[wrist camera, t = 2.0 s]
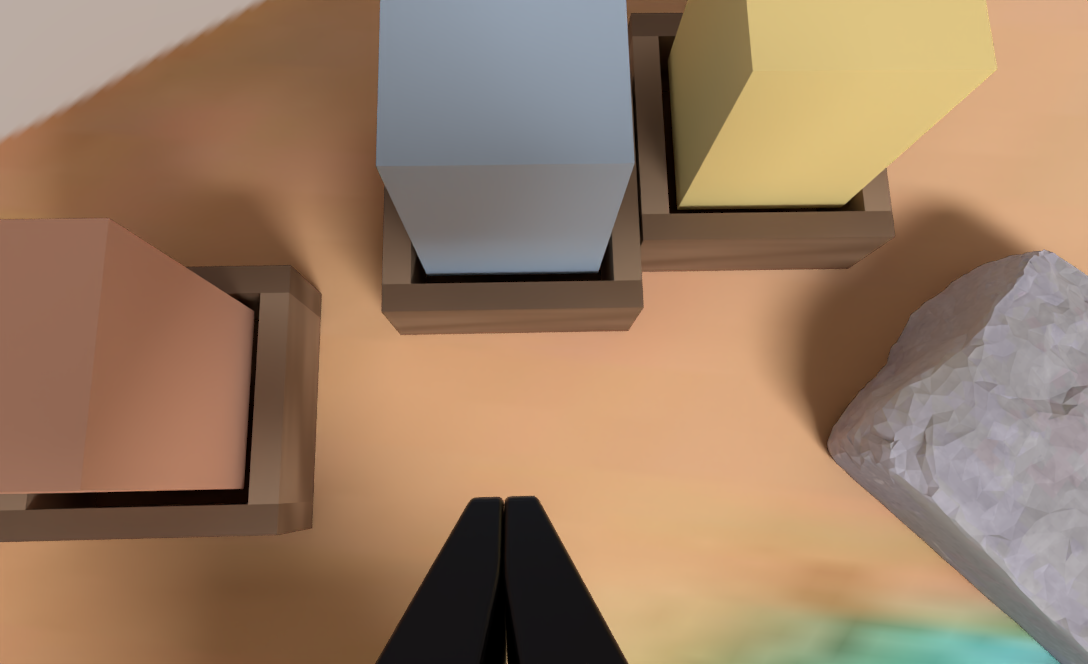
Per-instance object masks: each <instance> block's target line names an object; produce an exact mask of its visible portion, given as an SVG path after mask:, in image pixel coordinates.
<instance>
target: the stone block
mask: <svg viewBox="0 0 1088 664" xmlns="http://www.w3.org/2000/svg"><path fill="white" fill-rule="evenodd" d="M827 446H828V450H829V453H830V454H831V456H832V457H833V459H834V460H835V462H836V463H837V464H838V465H839V466H840V467H841V468H843V469H844V470H845V471H846V472H847V473H848V474H849V475H850V476H851V477H852V478H853V479H854V480H855V481H856V482H857V483H858V484H860V485H861V486H862V487H863V488H864V489H865V490H867V491H868V492H869V493H870V494H871V495H872V496H874V497H875V498H876V499H877V500H879V501H880V502H881V503H882V504H883V505H884V506H885V507H886V508H887V509H888V510H889V511H891V512H892V513H893V514H894V515H895V516H896V517H897V518H898V519H899V520H901V521H902V522H903V523H904V524H905V525H906V526H907V527H909V528H910V529H911V530H912V531H913V532H914V533H915V534H917V535H918V536H919V537H920V538H921V539H922V540H923V541H924V542H926V543H927V544H928V545H929V546H930V547H931V548H932V549H933V550H934V551H935V552H937V553H938V554H939V555H940V556H941V557H942V558H943V559H944V560H945V561H946V562H947V563H949V564H950V565H951V566H952V567H954V568H955V569H956V570H957V571H958V572H959V573H960V574H962V575H963V576H964V577H965V578H966V579H967V580H968V581H969V582H971V583H972V584H973V585H974V586H975V587H976V588H977V589H978V590H979V591H980V592H981V593H982V594H984V595H985V596H986V597H987V598H988V599H989V600H990V601H992V602H993V603H994V604H995V605H996V606H997V607H999V608H1000V609H1001V610H1002V611H1003V612H1004V613H1006V614H1007V615H1008V616H1009V617H1011V618H1012V619H1013V620H1014V621H1016V622H1017V623H1018V624H1019V625H1020V626H1021V627H1022V628H1023V629H1024V630H1025V631H1026V632H1027V633H1028V634H1030V635H1031V636H1032V637H1033V638H1034V639H1035V640H1036V641H1037V642H1038V643H1039V644H1040V645H1041V646H1043V647H1044V648H1045V649H1046V650H1047V651H1048V652H1049V653H1050V654H1051V655H1052V656H1053V657H1054V658H1055V659H1057V660H1058V661H1059V662H1060V663H1061V664H1088V276H1087V275H1086V274H1084V273H1083V272H1081V271H1080V270H1078V269H1077V268H1075V267H1074V266H1072V265H1071V264H1070V263H1068V262H1067V261H1065V260H1063V259H1062V258H1060V257H1059V256H1057V255H1056V254H1055V253H1053V252H1050V251H1047V250H1043V251H1033V252H1028V253H1024V254H1022V255H1011V256H1008V257H1006V258H1003V259H1000V260H997V261H992V262H988V263H986V264H983V265H981V266H979V267H977V268H975V269H974V270H972V271H970V272H969V273H968V274H965V275H963V276H961V277H960V278H958V279H957V280H955V281H953V282H951V284H950V285H949V286H948V287H947V288H946V289H945V290H943V291H942V292H941V293H939V294H938V295H937V296H935V297H933V298H932V299H930V300H928V301H926V302H925V303H924V304H923V305H922V306H921V307H920V308H919V309H918V310H916V311H915V312H914V313H912V314H911V315H910V318H909V320H908V322H907V324H906V326H905V328H904V330H903V332H902V334H901V336H900V337H899V339H898V341H897V343H895V344H894V345H893V346H892V347H891V350H890V353H889V357H888V360H887V364H886V365H885V366H884V367H883V368H882V369H881V370H880V371H879V372H878V374H877V375H876V377H875V378H874V379H872V380H871V381H870V382H868V383H867V384H866V386H865V388H863V389H862V390H860V392H859V393H858V394H857V396H856V397H855V398H854V399H853V401H852V402H851V403H850V404H849V405H848V407H847V408H846V410H845V411H844V412H843V414H842V415H841V417H840V418H839V420H838V422H837V423H836V424H835V425H834V426H833V428H832V431H831V434H830V437H829V439H828V442H827Z"/></svg>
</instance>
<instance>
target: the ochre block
mask: <svg viewBox="0 0 1088 664" xmlns="http://www.w3.org/2000/svg"><path fill="white" fill-rule="evenodd" d="M996 70H997V64H996V58H995V52H994V46H993V40H992V34H991V28H990V22H989V16H988V10H987V4H986V0H687V3H686V6H685V9H684V12H683V15H682V18H681V22H680V25H679V28H678V31H677V34H676V37H675V40H674V43H673V46H672V49H671V52H670V55H669V58H668V72H669V88H670V103H671V119H672V134H673V150H674V165H675V181H676V196H677V210H682V209H758V208H834V207H842V206H843V205H845V204H846V203H847V202H848V201H849V200H850V199H851V198H852V197H854V196H855V195H856V194H857V193H858V192H859V191H860V190H861V189H863V188H864V187H865V186H866V185H867V184H868V183H869V182H870V181H872V180H873V179H874V178H875V177H876V176H877V175H878V174H880V173H881V172H882V171H883V170H884V169H885V168H886V167H887V166H889V165H890V164H891V163H892V162H893V161H894V160H895V159H896V158H898V157H899V156H900V155H901V154H902V153H903V152H904V151H906V150H907V149H908V148H909V147H910V146H911V145H912V144H913V143H915V142H916V141H917V140H918V139H919V138H920V137H921V136H922V135H924V134H925V133H926V132H927V131H928V130H929V129H930V128H932V127H933V126H934V125H935V124H936V123H937V122H938V121H939V120H941V119H942V118H943V117H944V116H945V115H946V114H947V113H948V112H950V111H951V110H952V109H953V108H954V107H955V106H956V105H958V104H959V103H960V102H961V101H962V100H963V99H964V98H965V97H967V96H968V95H969V94H970V93H971V92H972V91H973V90H974V89H976V88H977V87H978V86H979V85H980V84H981V83H982V82H983V81H985V80H986V79H987V78H988V77H989V76H990V75H991V74H993V73H994V72H995V71H996Z"/></svg>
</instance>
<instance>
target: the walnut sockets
mask: <svg viewBox="0 0 1088 664" xmlns="http://www.w3.org/2000/svg"><path fill="white" fill-rule="evenodd" d="M682 15H683V13H631V17H630V21H629V26H628V46H629V66H630V85H631V104H632V123H633V142H634V161H635V164H634V167H633V170H632V173H631V176H630V179H629V182H628V185H627V188H626V191H625V194H624V196H623V199H622V202H621V205H620V208H619V211H618V214H617V217H616V220H615V223H614V226H613V229H612V232H611V235H610V238H609V241H608V244H607V247H606V250H605V253H604V256H603V259H602V262H601V276H602V281H558V282H495V283H431V284H426V272H425V269H424V267H423V265H422V263H421V261H420V259H419V257H418V255H417V252H416V250H415V248H414V246H413V244H412V242H411V240H410V238H409V235H408V233H407V231H406V229H405V227H404V225H403V223H402V221H401V218H400V216H399V214H398V212H397V210H396V208H395V206H394V204H393V202H392V199H391V197H390V195H389V193H388V191H387V189H386V187H385V185H384V226H383V269H382V313H383V314H384V315H385V317H386V318H387V319H388V320H389V321H390V323H391V324H392V325H393V326H394V327H395V329H396V330H397V331H398V332H399V333H400V335H417V334H474V333H530V332H587V331H628V330H629V329H630V327H631V326H632V324H633V323H634V321H635V320H636V318H637V316H638V315H639V313H640V312H641V310H642V309H643V288H642V272H655V271H719V270H784V269H848V268H850V267H851V266H853V265H854V264H856V263H857V262H858V261H860V260H861V259H863V258H864V257H866V256H867V255H869V254H870V253H872V252H873V251H875V250H876V249H878V248H879V247H881V246H882V245H884V244H885V243H887V242H888V241H890V240H891V239H892V238H894V237H895V230H894V223H893V215H892V207H891V199H890V191H889V184H888V176H887V168H885V169H884V170H883V171H882V172H881V173H880V174H878V175H877V176H876V177H875V178H874V179H873V180H872V181H870V182H869V183H868V184H867V185H866V186H865V187H864V188H863V189H861V190H860V191H859V192H858V193H857V194H856V195H855V196H854V197H852V198H851V199H850V200H849V201H848V202H847V203H846V204H845V205H843V206H842V207H834V208H818V212H762V213H687V214H669V201H668V185H667V169H666V153H665V137H664V120H663V104H662V91H670V88H669V72H668V58H669V55H670V52H671V49H672V46H673V43H674V40H675V37H676V34H677V31H678V28H679V25H680V22H681V18H682ZM186 268H188V269H189V270H191V271H192V272H194V273H195V274H197V275H198V276H200V277H202V278H203V279H205V280H206V281H208V282H209V283H211V284H212V285H214V286H216V287H217V288H219V289H220V290H222V291H223V292H225V293H227V294H228V295H230V296H231V297H233V298H234V299H236V300H237V301H239V302H241V303H242V304H244V305H245V306H247V307H248V308H250V309H251V310H253V311H255V312H254V319H259V328H258V345H257V362H256V379H255V396H254V413H253V430H252V447H251V464H250V481H249V498H248V503H224V504H182V505H140V506H99V507H96V497H97V492H83V493H30V494H0V542H21V541H61V540H100V539H140V538H180V537H220V536H259V535H280V534H285V533H290V532H295V531H300V530H305V529H310V528H312V515H313V491H314V466H315V442H316V418H317V393H318V369H319V345H320V320H321V296H322V294H321V293H320V292H319V291H317V290H316V289H315V288H314V287H313V286H312V285H311V284H310V283H309V282H308V281H307V280H306V279H305V278H304V277H303V276H301V275H300V274H299V273H298V272H297V271H296V270H295V269H294V268H293V267H292V266H291V265H282V266H215V267H186Z"/></svg>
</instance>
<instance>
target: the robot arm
mask: <svg viewBox="0 0 1088 664" xmlns="http://www.w3.org/2000/svg"><path fill="white" fill-rule="evenodd" d="M507 659H508V664H628V662H627V660H626V658H625V657H624V655H623V653H622V651H621V649H620V647H619V646H618V644H617V642H616V640H615V638H614V636H613V635H612V633H611V631H610V629H609V627H608V625H607V624H606V622H605V620H604V618H603V616H602V614H601V613H600V611H599V609H598V607H597V605H596V603H595V602H594V600H593V598H592V596H591V594H590V592H589V591H588V589H587V587H586V585H585V583H584V581H583V580H582V578H581V576H580V574H579V572H578V570H577V569H576V567H575V565H574V563H573V561H572V560H571V558H570V556H569V554H568V552H567V550H566V549H565V547H564V545H563V543H562V541H561V539H560V538H559V536H558V534H557V532H556V530H555V528H554V527H553V525H552V523H551V521H550V519H549V517H548V516H547V514H546V512H545V510H544V508H543V506H542V505H541V503H540V501H539V500H538V499H537V498H536V497H535V496H511V497H508V498H506V500H505V503H504V501H503V500H502V498H500V497H478V498H473V499H471V500H470V501H469V503H468V504H467V506H466V508H465V509H464V511H463V513H462V515H461V516H460V518H459V520H458V521H457V523H456V525H455V527H454V528H453V530H452V532H451V534H450V535H449V537H448V539H447V540H446V542H445V544H444V546H443V547H442V549H441V551H440V553H439V554H438V556H437V558H436V559H435V561H434V563H433V565H432V566H431V568H430V570H429V572H428V573H427V575H426V577H425V578H424V580H423V582H422V584H421V585H420V587H419V589H418V591H417V592H416V594H415V596H414V597H413V599H412V601H411V603H410V604H409V606H408V608H407V610H406V611H405V613H404V615H403V616H402V618H401V620H400V622H399V623H398V625H397V627H396V629H395V630H394V632H393V634H392V636H391V637H390V639H389V641H388V642H387V644H386V646H385V648H384V649H383V651H382V653H381V655H380V656H379V658H378V660H377V661H376V663H375V664H506V660H507Z"/></svg>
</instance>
